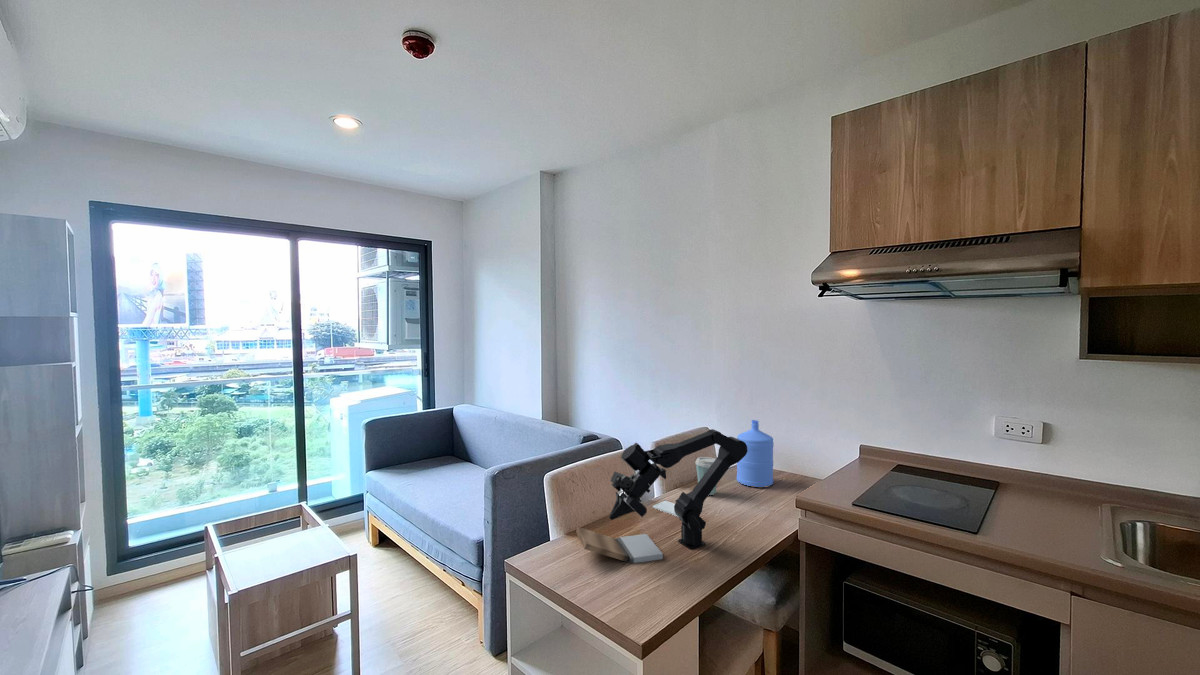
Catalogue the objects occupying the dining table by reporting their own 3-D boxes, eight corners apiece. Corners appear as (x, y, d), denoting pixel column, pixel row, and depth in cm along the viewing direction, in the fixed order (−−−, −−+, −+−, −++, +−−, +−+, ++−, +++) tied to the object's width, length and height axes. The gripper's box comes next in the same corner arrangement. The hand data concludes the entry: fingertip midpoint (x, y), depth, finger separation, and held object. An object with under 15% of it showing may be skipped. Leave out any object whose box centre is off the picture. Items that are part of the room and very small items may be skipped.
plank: (615, 543, 149) (616, 538, 149) (626, 561, 138) (628, 556, 138) (575, 531, 146) (577, 526, 146) (584, 549, 134) (586, 543, 134)
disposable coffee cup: (701, 487, 202) (701, 453, 202) (725, 492, 196) (725, 457, 195) (690, 494, 193) (691, 459, 193) (715, 500, 187) (715, 463, 187)
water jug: (768, 491, 198) (768, 426, 197) (732, 484, 206) (732, 422, 206) (776, 481, 211) (777, 419, 210) (742, 475, 219) (742, 416, 219)
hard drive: (652, 505, 179) (678, 514, 170) (665, 500, 185) (691, 508, 176) (652, 509, 179) (678, 518, 170) (665, 504, 185) (691, 512, 176)
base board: (646, 538, 153) (646, 533, 153) (662, 559, 140) (662, 553, 140) (616, 542, 150) (616, 537, 150) (630, 563, 137) (630, 558, 137)
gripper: (617, 455, 152) (585, 491, 150) (636, 472, 134) (600, 514, 132) (640, 476, 155) (608, 513, 152) (661, 496, 137) (626, 538, 134)
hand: (610, 518), depth 142 cm, fingers closed
